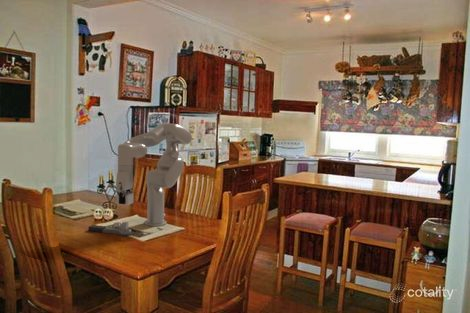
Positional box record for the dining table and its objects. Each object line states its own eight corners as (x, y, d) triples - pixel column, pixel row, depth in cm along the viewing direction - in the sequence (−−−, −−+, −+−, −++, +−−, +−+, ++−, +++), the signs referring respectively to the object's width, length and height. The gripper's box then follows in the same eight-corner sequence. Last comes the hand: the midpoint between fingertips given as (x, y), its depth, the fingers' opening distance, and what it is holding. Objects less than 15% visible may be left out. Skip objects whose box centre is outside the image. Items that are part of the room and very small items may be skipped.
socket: (123, 201, 199) (123, 190, 199) (133, 202, 198) (133, 191, 197) (116, 204, 194) (117, 192, 193) (127, 205, 192) (127, 193, 192)
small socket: (116, 228, 207) (116, 222, 207) (122, 228, 206) (122, 222, 206) (112, 230, 204) (112, 223, 203) (118, 230, 203) (118, 224, 203)
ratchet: (93, 228, 205) (93, 216, 205) (133, 233, 200) (133, 221, 199) (86, 231, 199) (86, 220, 198) (127, 236, 194) (127, 224, 193)
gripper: (127, 165, 203) (127, 198, 205) (109, 169, 186) (109, 205, 188) (140, 166, 201) (139, 199, 203) (123, 170, 185) (123, 206, 187)
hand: (125, 202), depth 196 cm, fingers closed on socket, 6 cm apart
